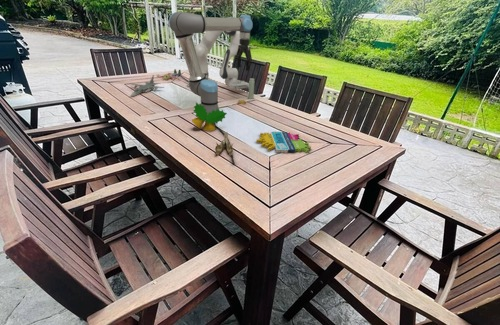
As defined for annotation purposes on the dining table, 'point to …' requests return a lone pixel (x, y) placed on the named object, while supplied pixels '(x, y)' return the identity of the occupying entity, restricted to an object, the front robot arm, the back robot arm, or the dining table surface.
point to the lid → (241, 101)
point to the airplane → (145, 87)
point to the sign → (283, 142)
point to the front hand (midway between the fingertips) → (243, 68)
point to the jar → (251, 88)
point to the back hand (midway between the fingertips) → (244, 88)
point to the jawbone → (224, 145)
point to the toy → (171, 75)
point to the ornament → (207, 117)
